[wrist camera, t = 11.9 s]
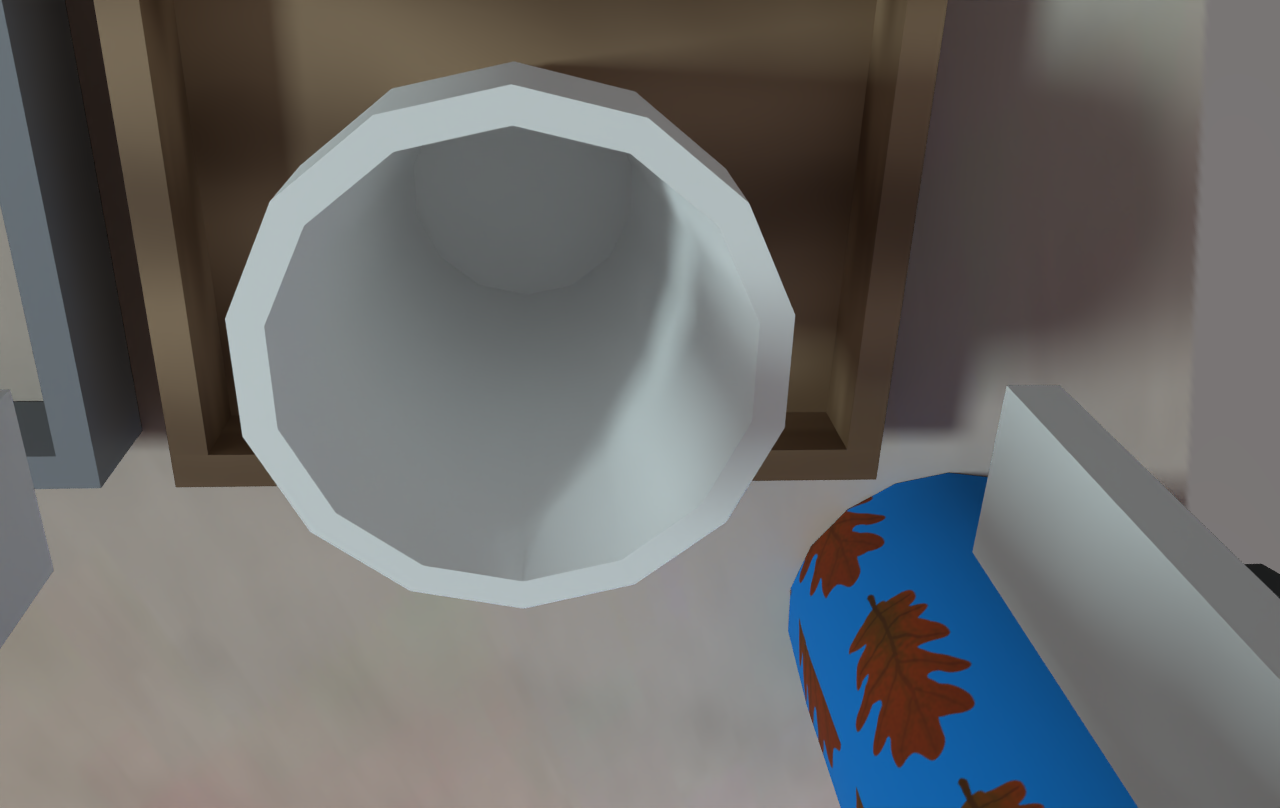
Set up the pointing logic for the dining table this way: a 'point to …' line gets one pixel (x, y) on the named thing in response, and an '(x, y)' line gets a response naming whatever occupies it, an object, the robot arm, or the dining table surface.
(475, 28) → the bin
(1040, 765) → the thermos
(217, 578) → the dining table surface
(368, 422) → the foam cup
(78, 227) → the bin
